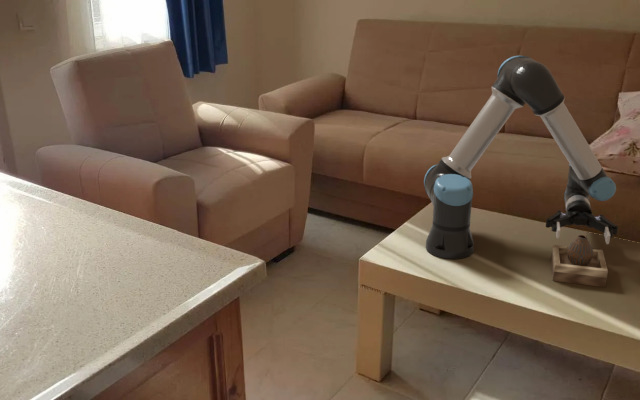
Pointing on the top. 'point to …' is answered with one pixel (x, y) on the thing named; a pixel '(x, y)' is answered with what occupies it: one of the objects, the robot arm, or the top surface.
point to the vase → (580, 251)
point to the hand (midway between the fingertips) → (583, 237)
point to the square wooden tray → (578, 268)
